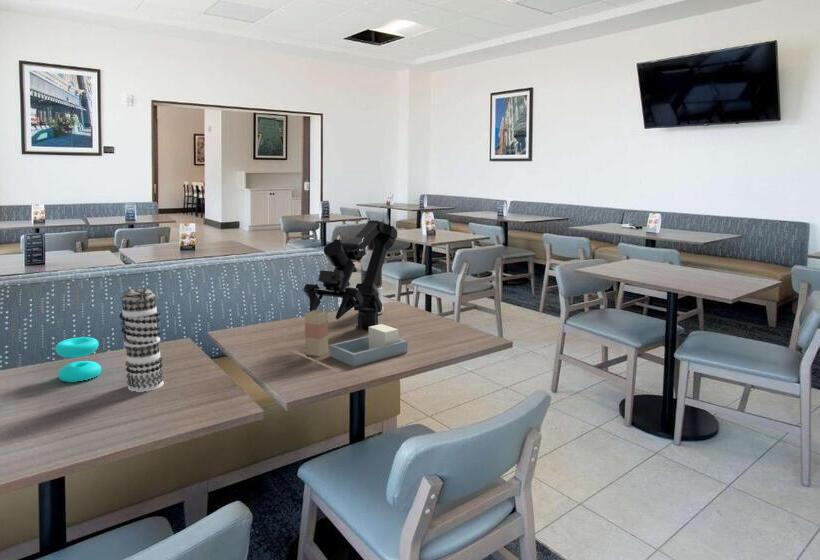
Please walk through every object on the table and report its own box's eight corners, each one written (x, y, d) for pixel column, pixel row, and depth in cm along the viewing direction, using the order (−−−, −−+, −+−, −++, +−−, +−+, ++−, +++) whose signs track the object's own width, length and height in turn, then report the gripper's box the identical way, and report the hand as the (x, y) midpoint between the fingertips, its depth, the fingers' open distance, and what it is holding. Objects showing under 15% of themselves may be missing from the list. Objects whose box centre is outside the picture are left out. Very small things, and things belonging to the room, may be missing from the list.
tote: (382, 344, 184) (382, 332, 183) (407, 353, 175) (407, 341, 175) (329, 358, 171) (329, 345, 170) (353, 368, 162) (353, 354, 162)
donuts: (54, 339, 154) (96, 333, 160) (58, 375, 156) (99, 368, 161) (55, 349, 146) (100, 342, 151) (59, 386, 148) (103, 379, 153)
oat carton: (314, 351, 177) (313, 310, 175) (328, 353, 175) (327, 311, 173) (305, 356, 173) (304, 313, 170) (320, 358, 171) (319, 315, 169)
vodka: (383, 315, 221) (383, 237, 215) (359, 315, 220) (358, 237, 215) (383, 309, 230) (383, 234, 224) (360, 310, 229) (359, 234, 224)
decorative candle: (151, 393, 143) (143, 295, 139) (118, 391, 145) (108, 293, 140) (172, 380, 152) (165, 287, 148) (140, 378, 154) (132, 286, 149)
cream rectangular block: (381, 345, 181) (381, 324, 180) (398, 351, 175) (398, 329, 174) (368, 348, 178) (368, 326, 177) (385, 355, 172) (385, 332, 171)
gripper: (305, 258, 181) (285, 299, 173) (358, 262, 174) (340, 305, 166) (319, 278, 189) (301, 319, 182) (370, 283, 182) (354, 325, 174)
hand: (323, 317), depth 176 cm, fingers open, 9 cm apart
